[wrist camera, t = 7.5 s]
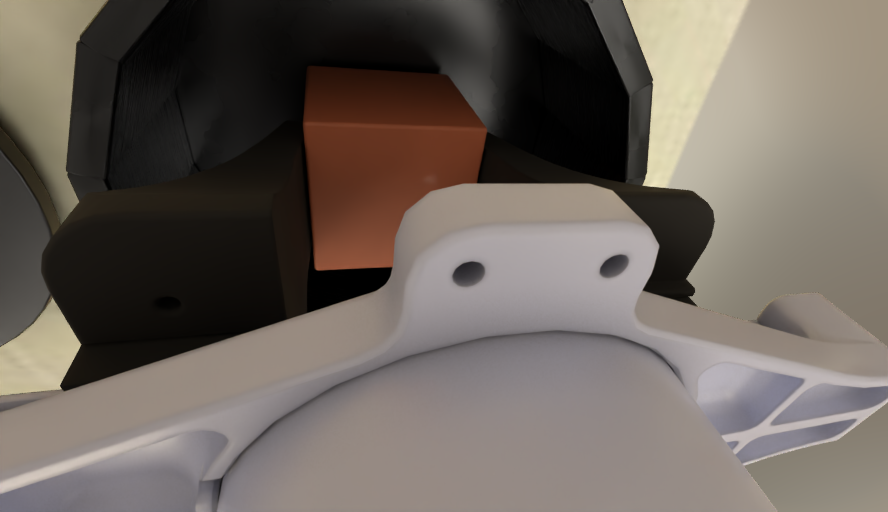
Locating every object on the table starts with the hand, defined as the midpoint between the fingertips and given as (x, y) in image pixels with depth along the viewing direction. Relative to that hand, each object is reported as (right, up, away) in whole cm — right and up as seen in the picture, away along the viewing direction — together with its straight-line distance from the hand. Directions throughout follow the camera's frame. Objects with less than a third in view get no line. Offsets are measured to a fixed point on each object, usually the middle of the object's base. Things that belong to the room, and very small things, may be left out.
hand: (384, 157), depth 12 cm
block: (0, +1, +1) cm, 1 cm away
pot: (0, +1, +2) cm, 2 cm away
